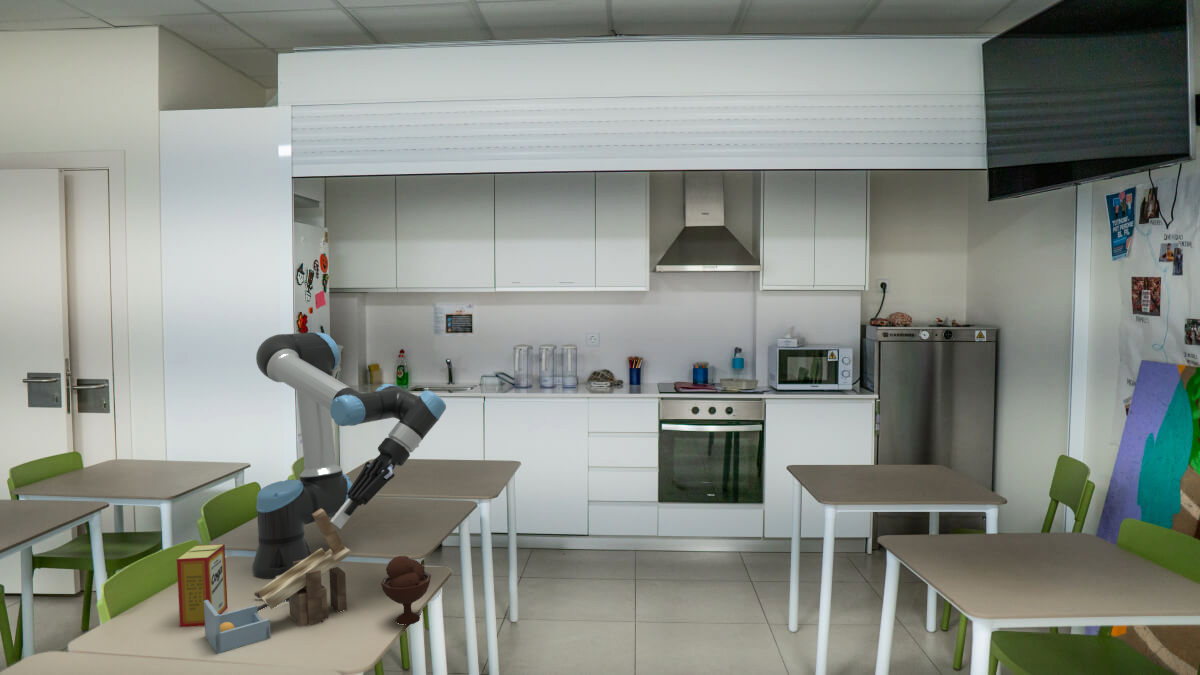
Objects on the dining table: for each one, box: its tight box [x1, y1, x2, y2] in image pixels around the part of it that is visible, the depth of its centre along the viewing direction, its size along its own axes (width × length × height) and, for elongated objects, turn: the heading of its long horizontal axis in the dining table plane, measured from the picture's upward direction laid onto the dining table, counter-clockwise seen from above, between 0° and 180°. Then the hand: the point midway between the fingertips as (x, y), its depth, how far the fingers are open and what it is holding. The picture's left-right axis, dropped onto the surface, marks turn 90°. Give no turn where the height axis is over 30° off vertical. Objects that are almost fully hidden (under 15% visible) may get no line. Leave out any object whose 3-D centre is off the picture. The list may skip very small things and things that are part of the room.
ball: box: [220, 622, 235, 632], centre depth 156 cm, size 4×4×4 cm
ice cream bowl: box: [380, 555, 432, 626], centre depth 165 cm, size 11×11×15 cm
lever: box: [256, 509, 352, 610], centre depth 166 cm, size 20×7×12 cm, turn 130°
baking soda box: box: [176, 543, 228, 628], centre depth 168 cm, size 10×6×16 cm
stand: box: [288, 559, 348, 627], centre depth 169 cm, size 11×10×12 cm
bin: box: [204, 600, 271, 654], centre depth 158 cm, size 11×11×8 cm
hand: (335, 524), depth 171 cm, fingers closed
